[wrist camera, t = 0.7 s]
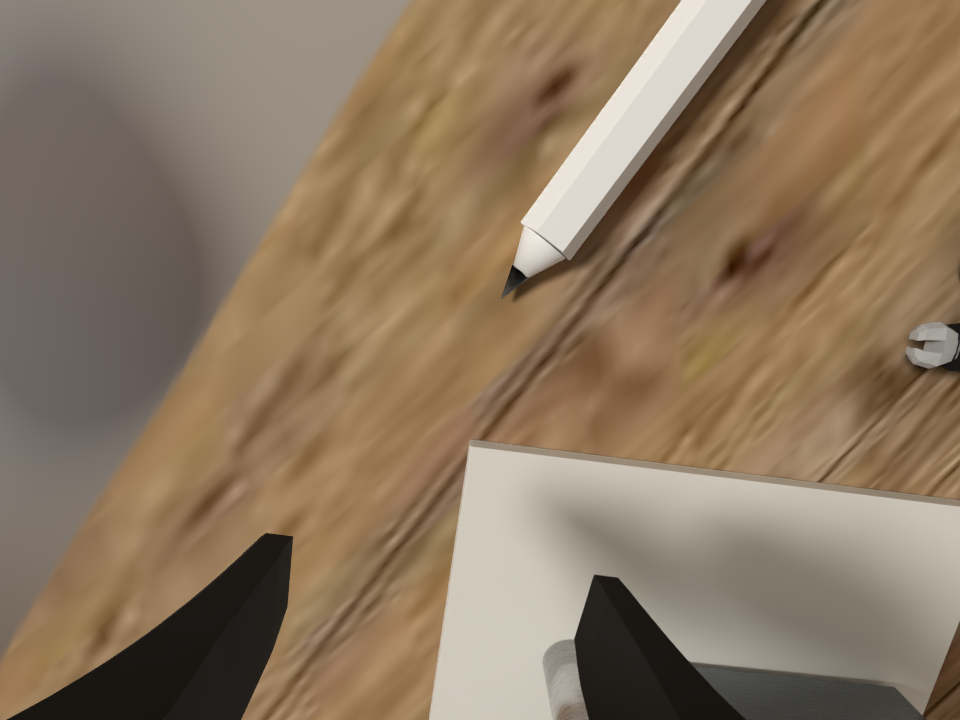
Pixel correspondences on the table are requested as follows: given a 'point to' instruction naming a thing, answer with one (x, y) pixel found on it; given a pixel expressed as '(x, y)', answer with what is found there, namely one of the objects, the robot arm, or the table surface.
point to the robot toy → (936, 346)
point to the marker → (628, 131)
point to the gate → (807, 697)
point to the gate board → (691, 574)
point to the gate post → (564, 682)
